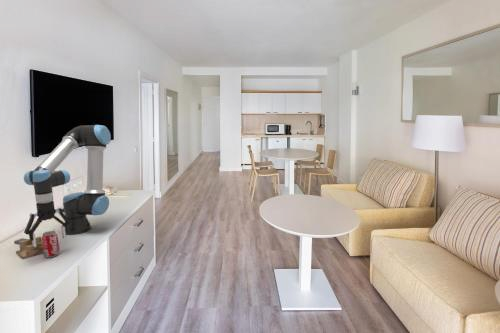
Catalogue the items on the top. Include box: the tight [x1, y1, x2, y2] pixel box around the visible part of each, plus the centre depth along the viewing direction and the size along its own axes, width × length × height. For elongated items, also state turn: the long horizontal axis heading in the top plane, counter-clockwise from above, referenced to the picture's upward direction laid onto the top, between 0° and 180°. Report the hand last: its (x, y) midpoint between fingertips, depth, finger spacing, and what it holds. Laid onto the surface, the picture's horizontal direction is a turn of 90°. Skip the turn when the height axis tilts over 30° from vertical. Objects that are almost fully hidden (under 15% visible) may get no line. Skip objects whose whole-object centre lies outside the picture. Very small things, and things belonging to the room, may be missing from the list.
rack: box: [15, 236, 44, 260], centre depth 179 cm, size 14×12×6 cm
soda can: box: [41, 230, 60, 259], centre depth 172 cm, size 7×7×12 cm
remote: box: [13, 237, 29, 245], centre depth 191 cm, size 16×4×2 cm, turn 69°
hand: (49, 242), depth 172 cm, fingers open, 13 cm apart
